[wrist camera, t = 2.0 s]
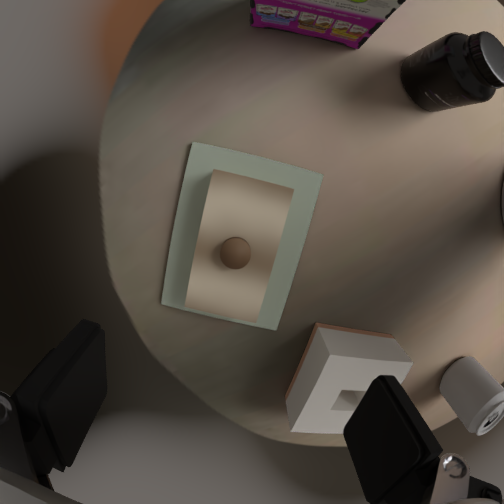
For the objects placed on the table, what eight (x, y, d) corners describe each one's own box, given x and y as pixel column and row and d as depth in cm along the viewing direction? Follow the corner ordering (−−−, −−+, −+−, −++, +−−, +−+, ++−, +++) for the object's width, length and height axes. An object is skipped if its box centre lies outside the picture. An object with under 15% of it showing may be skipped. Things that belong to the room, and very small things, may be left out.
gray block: (315, 322, 29) (329, 354, 24) (391, 334, 30) (413, 362, 24) (284, 396, 32) (290, 431, 26) (354, 401, 33) (367, 432, 27)
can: (436, 398, 34) (469, 447, 23) (437, 369, 32) (478, 421, 21) (470, 376, 34) (507, 418, 22) (474, 345, 32) (518, 388, 20)
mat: (194, 142, 24) (192, 141, 24) (321, 174, 25) (323, 174, 25) (162, 301, 28) (161, 304, 28) (275, 327, 29) (276, 330, 29)
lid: (217, 169, 25) (211, 168, 21) (288, 187, 25) (296, 189, 21) (190, 293, 28) (182, 311, 24) (255, 308, 28) (256, 328, 24)
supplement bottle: (414, 118, 24) (494, 101, 12) (388, 60, 22) (454, 17, 11) (454, 107, 23) (529, 93, 12) (431, 53, 21) (497, 21, 10)
